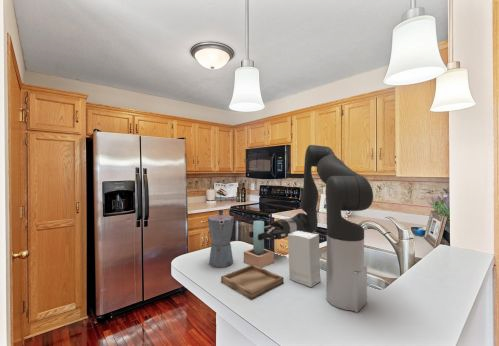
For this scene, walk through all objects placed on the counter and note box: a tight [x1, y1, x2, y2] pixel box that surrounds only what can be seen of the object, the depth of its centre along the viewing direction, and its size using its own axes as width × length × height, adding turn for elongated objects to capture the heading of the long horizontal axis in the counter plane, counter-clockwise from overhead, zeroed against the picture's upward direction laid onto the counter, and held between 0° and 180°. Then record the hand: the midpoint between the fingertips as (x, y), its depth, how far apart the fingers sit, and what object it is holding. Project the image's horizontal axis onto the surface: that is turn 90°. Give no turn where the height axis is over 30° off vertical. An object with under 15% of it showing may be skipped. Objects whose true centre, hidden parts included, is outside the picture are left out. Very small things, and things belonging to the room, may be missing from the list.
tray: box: [220, 265, 285, 300], centre depth 73 cm, size 14×14×2 cm
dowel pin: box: [252, 220, 265, 256], centre depth 89 cm, size 4×4×15 cm
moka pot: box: [207, 209, 235, 269], centre depth 89 cm, size 10×15×20 cm, turn 14°
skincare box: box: [287, 230, 322, 288], centre depth 75 cm, size 8×6×15 cm
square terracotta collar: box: [243, 248, 275, 268], centre depth 89 cm, size 8×8×4 cm
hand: (254, 236), depth 87 cm, fingers closed on dowel pin, 4 cm apart
